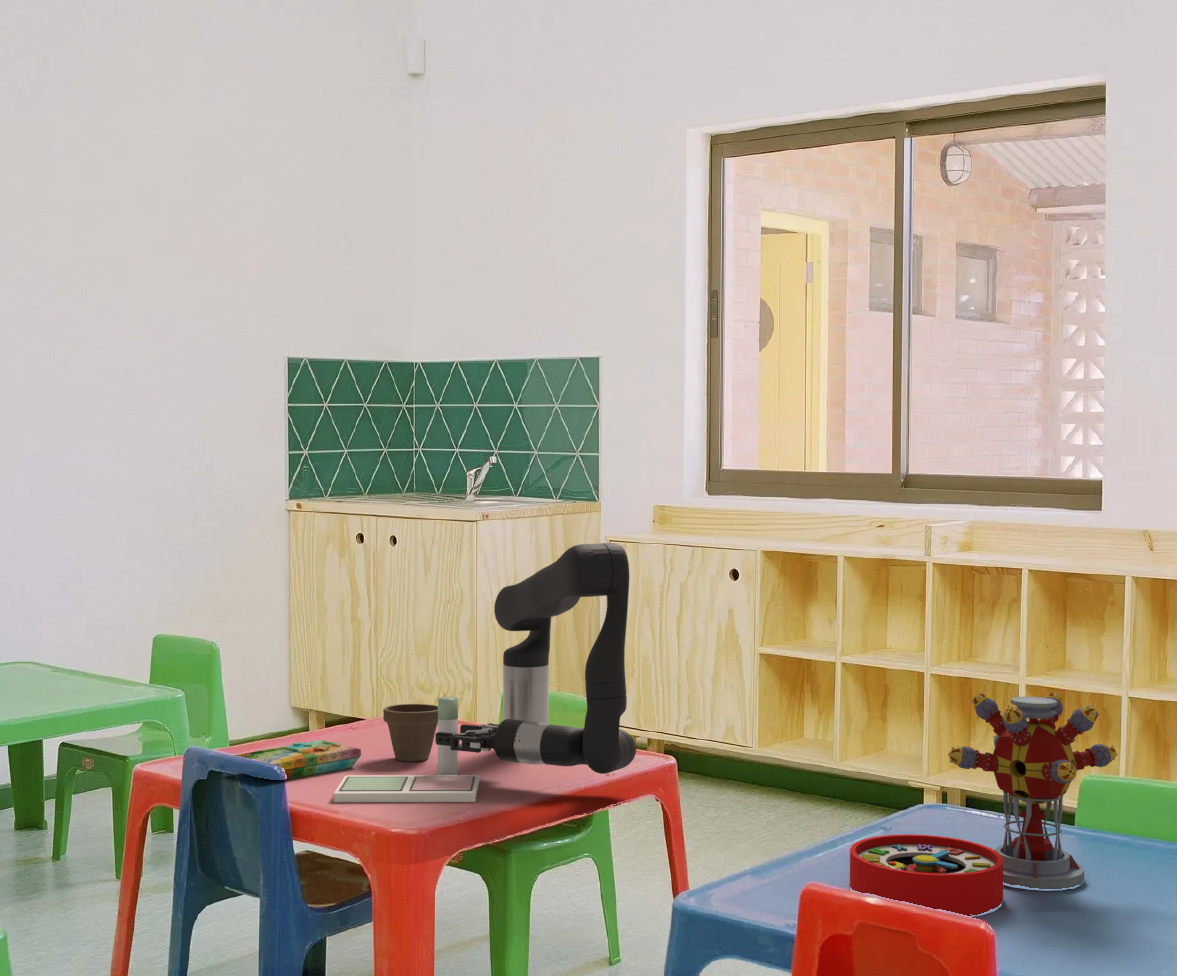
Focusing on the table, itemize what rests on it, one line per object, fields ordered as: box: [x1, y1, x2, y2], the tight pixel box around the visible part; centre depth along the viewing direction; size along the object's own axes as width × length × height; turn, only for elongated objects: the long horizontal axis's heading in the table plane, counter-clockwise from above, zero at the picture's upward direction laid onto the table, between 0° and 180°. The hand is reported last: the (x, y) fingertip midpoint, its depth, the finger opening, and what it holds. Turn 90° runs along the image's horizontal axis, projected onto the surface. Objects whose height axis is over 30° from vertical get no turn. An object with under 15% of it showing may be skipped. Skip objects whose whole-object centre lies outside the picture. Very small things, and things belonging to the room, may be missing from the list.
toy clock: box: [849, 833, 1004, 916], centre depth 187 cm, size 20×6×20 cm
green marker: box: [437, 696, 459, 775], centre depth 257 cm, size 4×4×15 cm
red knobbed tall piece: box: [947, 691, 1119, 889], centre depth 196 cm, size 18×18×25 cm
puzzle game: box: [234, 739, 362, 780], centre depth 262 cm, size 12×5×20 cm
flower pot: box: [382, 703, 438, 763], centre depth 274 cm, size 12×11×10 cm
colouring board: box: [333, 774, 480, 803], centre depth 245 cm, size 14×24×2 cm, turn 92°
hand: (448, 734), depth 257 cm, fingers open, 8 cm apart
